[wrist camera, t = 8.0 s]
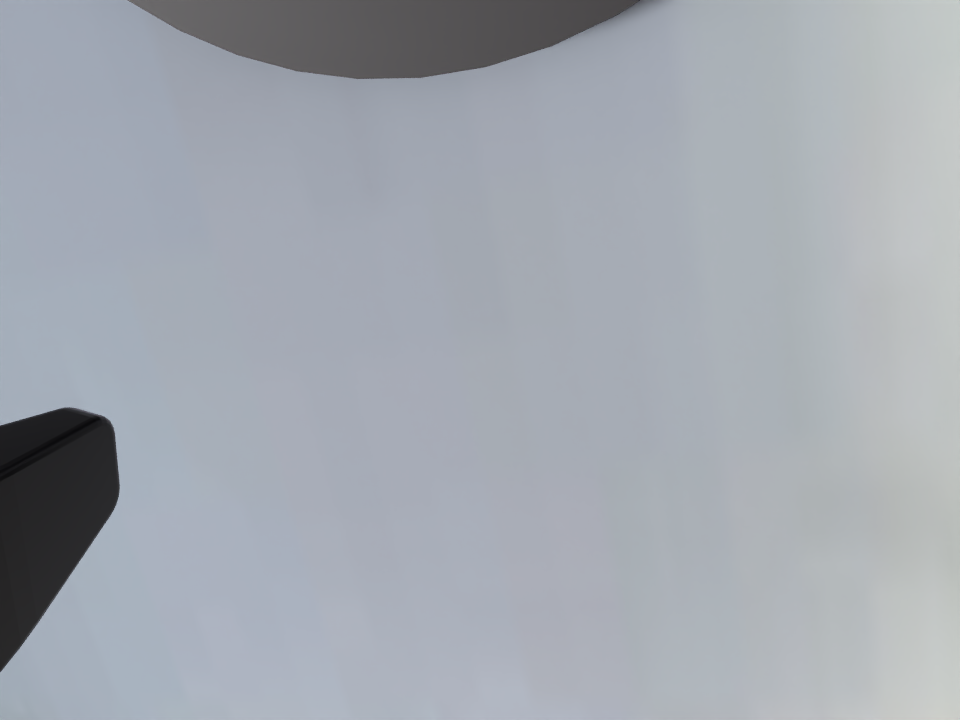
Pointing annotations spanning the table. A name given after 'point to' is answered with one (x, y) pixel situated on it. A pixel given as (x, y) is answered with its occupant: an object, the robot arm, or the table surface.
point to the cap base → (383, 31)
